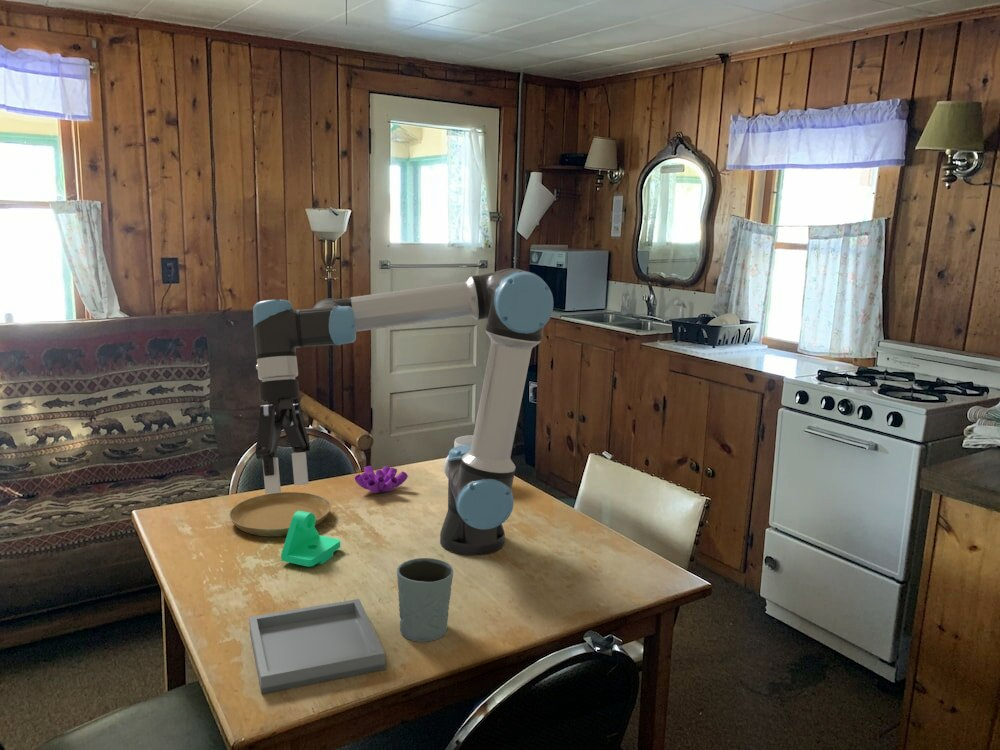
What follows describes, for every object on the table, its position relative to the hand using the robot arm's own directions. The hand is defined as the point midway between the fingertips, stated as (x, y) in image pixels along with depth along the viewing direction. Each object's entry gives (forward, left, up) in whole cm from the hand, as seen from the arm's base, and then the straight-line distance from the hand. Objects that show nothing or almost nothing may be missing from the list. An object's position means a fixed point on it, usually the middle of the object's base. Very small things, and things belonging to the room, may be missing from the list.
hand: (287, 488), depth 152 cm
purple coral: (-31, -52, -22) cm, 64 cm away
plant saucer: (-3, -40, -23) cm, 46 cm away
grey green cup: (-21, +22, -22) cm, 38 cm away
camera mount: (-7, -16, -23) cm, 28 cm away
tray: (-1, +22, -22) cm, 31 cm away
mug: (-56, -49, -22) cm, 78 cm away
